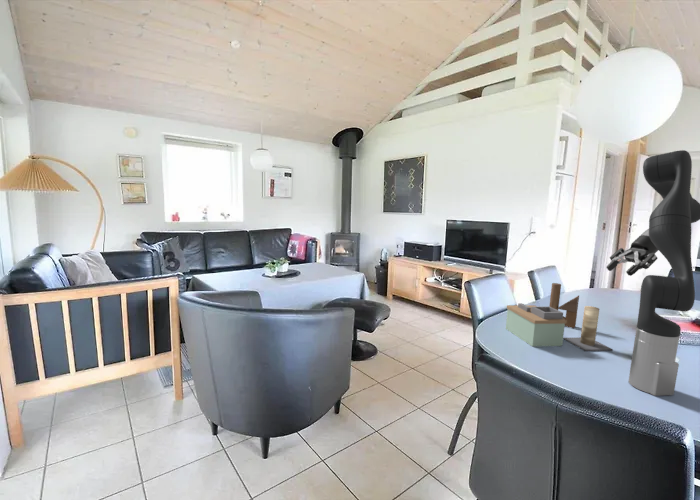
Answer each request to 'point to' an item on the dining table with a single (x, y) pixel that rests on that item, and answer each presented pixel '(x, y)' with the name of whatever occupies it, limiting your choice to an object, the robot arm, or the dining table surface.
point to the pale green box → (536, 324)
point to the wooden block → (564, 305)
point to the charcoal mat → (584, 347)
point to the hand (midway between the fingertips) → (617, 271)
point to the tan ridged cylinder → (589, 325)
